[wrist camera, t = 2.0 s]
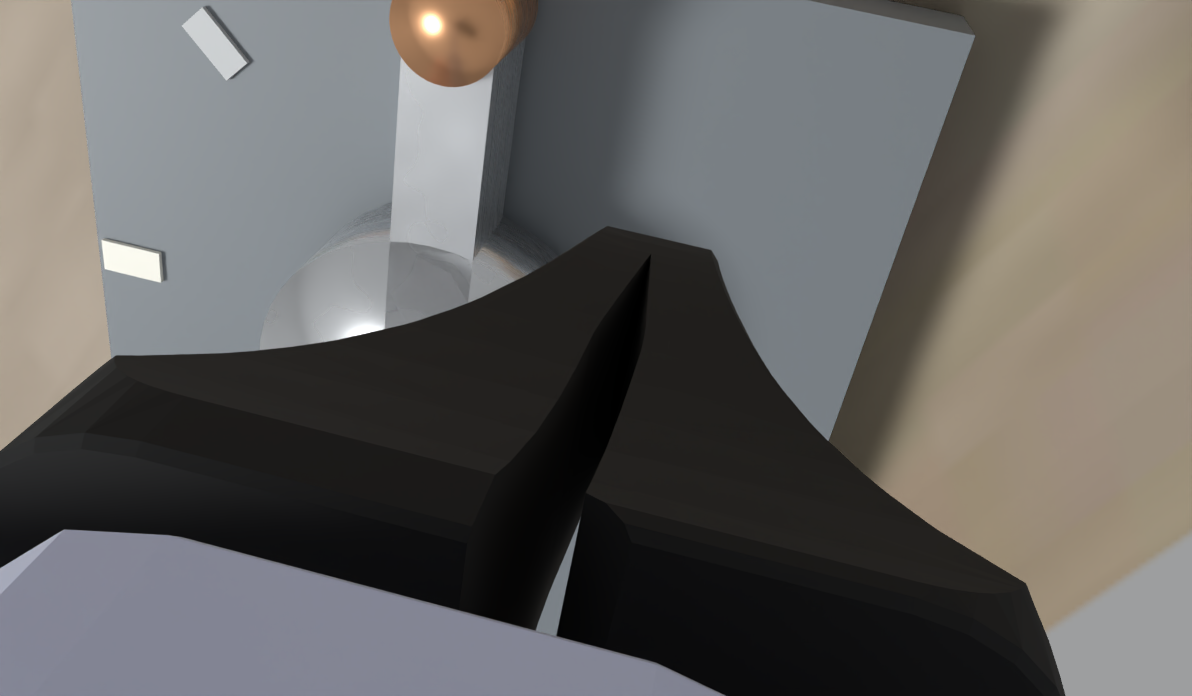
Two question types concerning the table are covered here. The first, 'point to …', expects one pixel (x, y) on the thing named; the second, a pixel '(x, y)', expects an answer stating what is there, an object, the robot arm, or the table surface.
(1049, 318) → the table surface
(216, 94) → the dial board
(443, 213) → the dial
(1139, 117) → the table surface
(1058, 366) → the table surface
